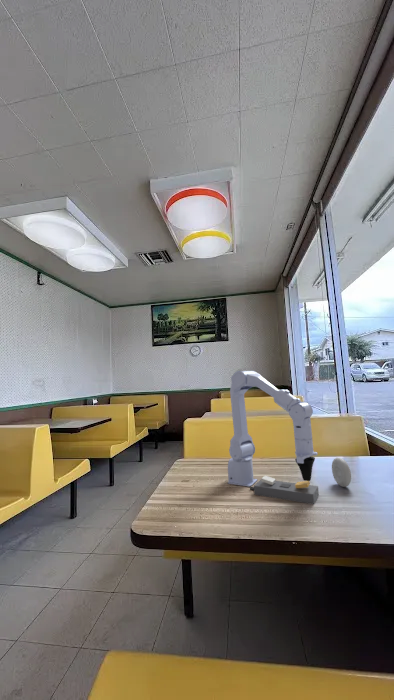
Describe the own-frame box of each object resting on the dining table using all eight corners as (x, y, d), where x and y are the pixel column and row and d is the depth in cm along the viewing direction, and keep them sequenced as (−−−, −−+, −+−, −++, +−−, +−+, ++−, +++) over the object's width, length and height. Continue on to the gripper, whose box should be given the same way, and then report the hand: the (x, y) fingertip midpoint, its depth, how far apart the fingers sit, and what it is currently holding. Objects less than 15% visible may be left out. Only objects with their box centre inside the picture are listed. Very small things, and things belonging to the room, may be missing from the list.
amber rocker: (295, 488, 100) (294, 485, 101) (298, 484, 103) (297, 481, 104) (307, 487, 98) (306, 484, 99) (310, 483, 102) (309, 480, 102)
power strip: (246, 493, 107) (245, 484, 108) (254, 486, 114) (254, 477, 114) (314, 504, 95) (313, 493, 95) (318, 495, 102) (317, 485, 102)
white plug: (261, 481, 107) (261, 478, 107) (264, 478, 110) (265, 475, 110) (272, 485, 105) (272, 482, 105) (275, 481, 108) (275, 479, 108)
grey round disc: (354, 490, 104) (351, 461, 105) (345, 491, 104) (342, 461, 105) (340, 481, 114) (337, 454, 115) (331, 481, 114) (328, 454, 115)
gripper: (311, 443, 94) (315, 489, 92) (319, 435, 106) (323, 475, 104) (288, 442, 97) (292, 485, 96) (299, 434, 110) (302, 472, 108)
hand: (307, 480), depth 100 cm, fingers closed
